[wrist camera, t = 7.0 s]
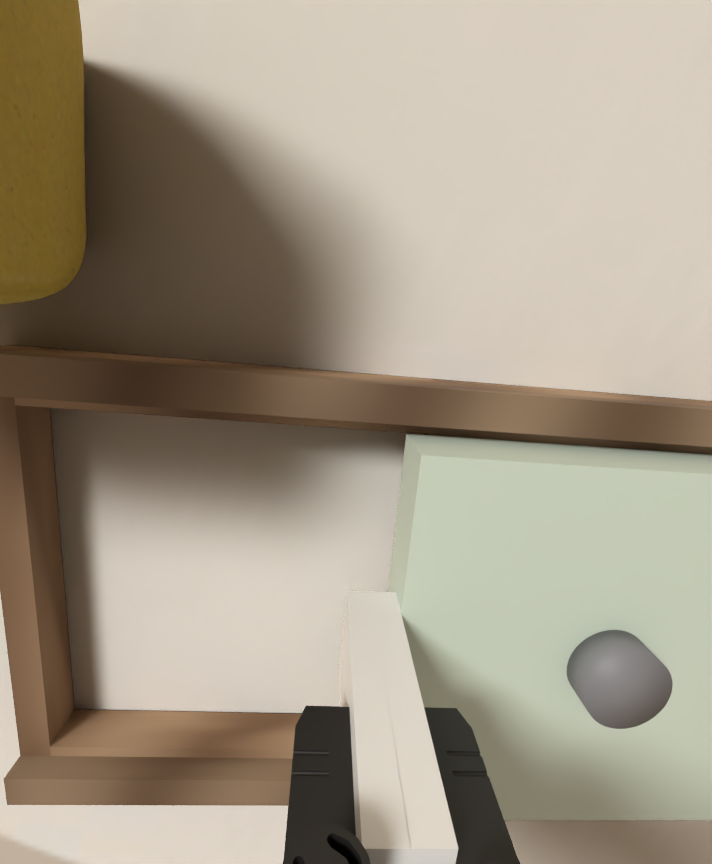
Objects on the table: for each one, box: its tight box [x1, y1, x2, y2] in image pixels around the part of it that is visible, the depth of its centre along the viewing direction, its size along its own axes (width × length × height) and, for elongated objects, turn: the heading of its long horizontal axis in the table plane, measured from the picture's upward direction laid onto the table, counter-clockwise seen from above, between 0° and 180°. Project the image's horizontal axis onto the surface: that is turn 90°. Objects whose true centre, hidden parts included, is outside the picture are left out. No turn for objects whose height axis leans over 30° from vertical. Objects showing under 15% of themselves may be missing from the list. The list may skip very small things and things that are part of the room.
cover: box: [388, 433, 712, 820], centre depth 13 cm, size 12×12×3 cm
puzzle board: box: [0, 345, 712, 805], centre depth 15 cm, size 25×15×2 cm, turn 85°
